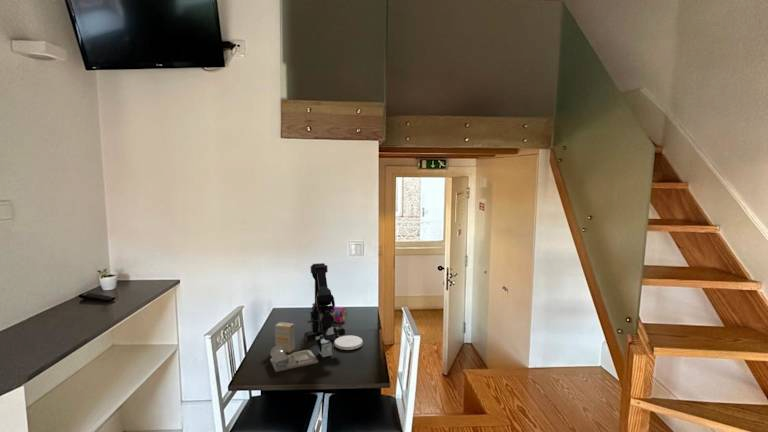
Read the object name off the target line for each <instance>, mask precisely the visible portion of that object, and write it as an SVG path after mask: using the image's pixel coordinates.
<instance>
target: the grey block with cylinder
mask: <svg viewBox="0 0 768 432" xmlns="http://www.w3.org/2000/svg"><path fill="white" fill-rule="evenodd" d="M320 340H321V352H320V351H319V350H318V353H319V355H320V356H321V357H322V358H326V357H330V356H332V355H333V345H332V343H331V342H330V340H325V339H324V338H323V339H320Z"/></svg>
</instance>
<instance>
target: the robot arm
mask: <svg viewBox="0 0 768 432" xmlns="http://www.w3.org/2000/svg"><path fill="white" fill-rule="evenodd" d="M327 273H329V271H328V265H326V264H325V262H323V263H322V262H321V263H312V264H311V265H310V274H311V277H312V278H313V279H314V303H315V304H314V305H312V306H311V311H310V312H311V314H310V313H309V315H310V316H309V317H310V318H309V319H310V323H311V325H310V327H311V328H310V330H309V331H305V333H304V334H303V338H304V339H305V341H306V342H307V343H310V342H314V343H316V345H317V349H318V352H319V351H320V352H321V340H322V339H321V338H320V337H323V339H325V340H330V342H331V343H332V346H333V345H334V344H335V340H336V339H337V338H339V337H342V336H346V329H345V328H344V327H343V325H336V326H333V325H334V323H335V322H334V318H333V315H332V313H331V309H334V306H335V307H336V303H335V302H336V301H335V298H334V297H335V296H334V295H333V294H332V290H331V289H330V288H329V287H328V283H327V282H328V281H327Z"/></svg>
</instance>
